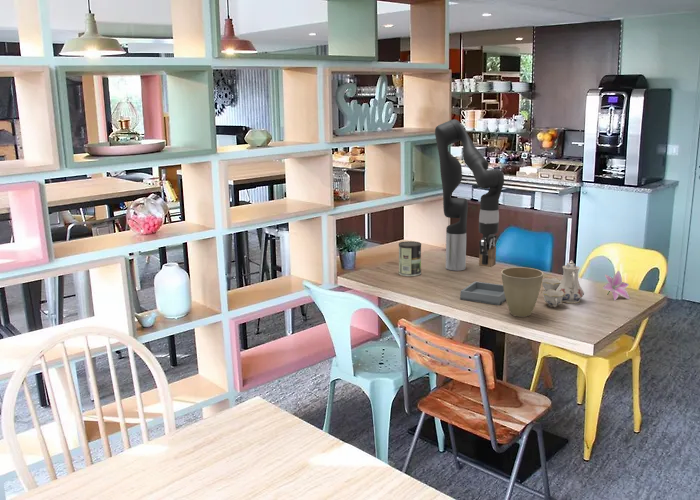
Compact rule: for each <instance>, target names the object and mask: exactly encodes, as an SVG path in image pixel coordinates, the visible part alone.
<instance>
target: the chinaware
mask: <svg viewBox="0 0 700 500" xmlns="http://www.w3.org/2000/svg"><path fill="white" fill-rule="evenodd" d="M580 268H581V267H580V266H577V265H576V263H574V261H573V260H572V259H571V260H570V261H569V262H566V265H562V270H563V274H562V279H559V278H556V277H552V278H549V277H544V278H542V283H541V286H542V288H543V290H542V291H541V294H542V295H543V300H544V301H545V302H546V304H547V306H548V307H549V308H556V307H558V305H559V304H560V303H565V304H578V303H581V299H582V298H583V297H584V295H585V292H584V290H583V289H582V287H581V285H580V281H579V271H580Z"/></svg>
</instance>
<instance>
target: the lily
mask: <svg viewBox="0 0 700 500" xmlns="http://www.w3.org/2000/svg"><path fill="white" fill-rule="evenodd" d="M604 276H605V279H606V280H607V283H606V284H604V286H602V289H603V290H605V291H608V292H607V295H609V294H610V292H611V294H612V297H613V301H614V302H615V301H616V300H617V299H618V298H619V296H621V297H623V298H625V299H627V300H630V299H631V298H630V295H629V293H628V291H627V290H626V289H627V288H628V287H629V286H630V285H629V283H627V282H624V281H623V278H622V273H621V271H620V270H617V271H616V273H615V274H614V276H613V277H611V276H610V275H608V274H604Z"/></svg>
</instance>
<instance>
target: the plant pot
mask: <svg viewBox="0 0 700 500" xmlns="http://www.w3.org/2000/svg"><path fill="white" fill-rule="evenodd" d="M500 273H501V280H502V283H501V284H502V285H503V289H504V293H505V298H506V300H505V301H506V304H507V307H508V310H509V313H510V315H512V316H514V317H520V318H523V317H525V318H526V317H530V316H531V315H532V312H533V310H534V308H535V306H536V304H537V301H538V297H539V294H540V292H541V287H542V279H543V277H544V272H543V271H541V270H540V269H537V268H533V267H532V268H531V267H521V266H519V267H518V266H517V267H508V268H504V269H502V270H501V272H500Z"/></svg>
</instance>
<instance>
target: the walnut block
mask: <svg viewBox="0 0 700 500" xmlns="http://www.w3.org/2000/svg"><path fill="white" fill-rule="evenodd" d="M484 252H485V250H484ZM478 256H479V257H478V259H479V260H478V266H479V267H487V268H492V267H494V266H495V265H496V261H497V246H496V247H491V249H490V250H489V254H488V264H487V265H483V264H482V255H481V254H480V251H479V254H478Z"/></svg>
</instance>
